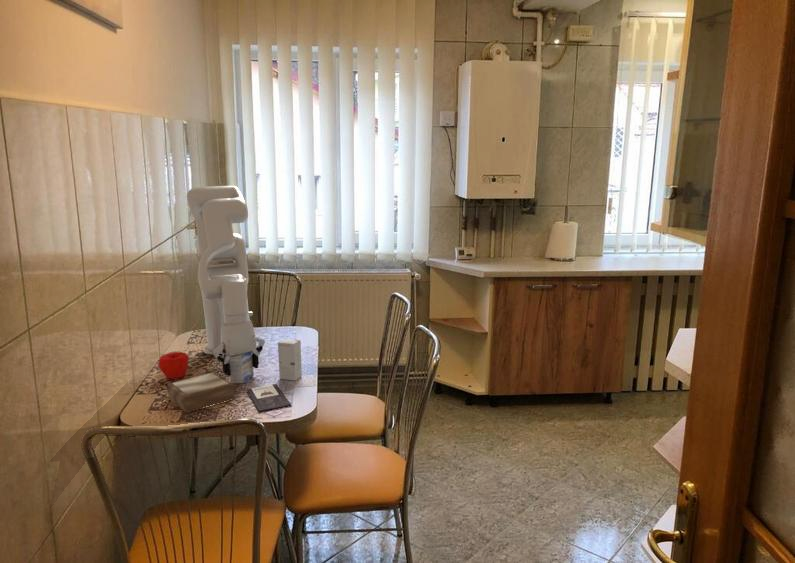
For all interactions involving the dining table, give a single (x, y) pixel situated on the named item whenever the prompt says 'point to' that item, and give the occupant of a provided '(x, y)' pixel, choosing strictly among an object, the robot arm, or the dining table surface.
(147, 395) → the dining table surface
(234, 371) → the medicine box
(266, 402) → the chocolate bar
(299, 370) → the skincare box
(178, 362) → the apple
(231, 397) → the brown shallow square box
